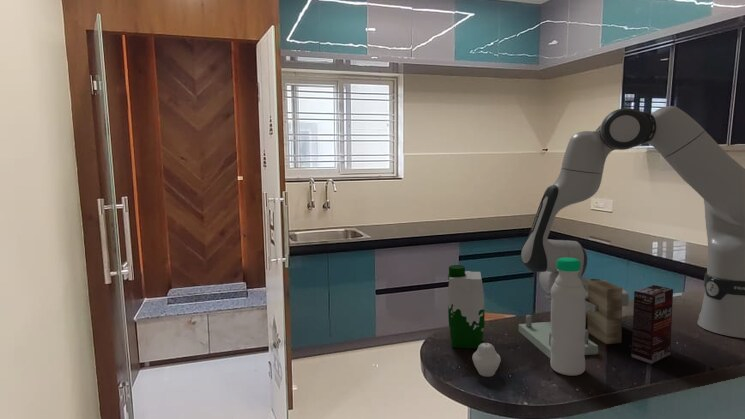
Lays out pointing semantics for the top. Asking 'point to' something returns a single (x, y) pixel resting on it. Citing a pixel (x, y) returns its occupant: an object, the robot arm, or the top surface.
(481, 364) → the white bulb shape
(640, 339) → the supplement box
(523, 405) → the top surface
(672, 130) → the robot arm
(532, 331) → the peg rest
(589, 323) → the upright wooden block
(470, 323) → the milk carton
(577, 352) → the water bottle
